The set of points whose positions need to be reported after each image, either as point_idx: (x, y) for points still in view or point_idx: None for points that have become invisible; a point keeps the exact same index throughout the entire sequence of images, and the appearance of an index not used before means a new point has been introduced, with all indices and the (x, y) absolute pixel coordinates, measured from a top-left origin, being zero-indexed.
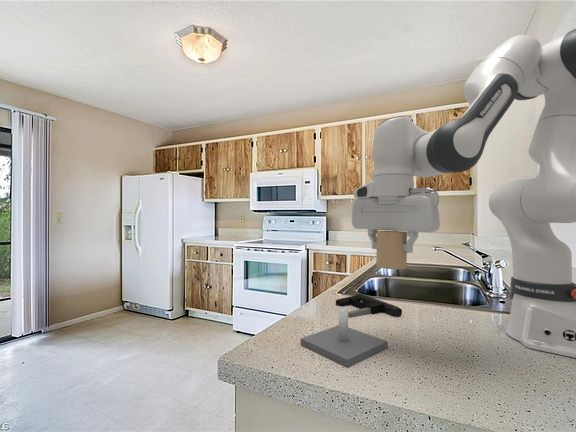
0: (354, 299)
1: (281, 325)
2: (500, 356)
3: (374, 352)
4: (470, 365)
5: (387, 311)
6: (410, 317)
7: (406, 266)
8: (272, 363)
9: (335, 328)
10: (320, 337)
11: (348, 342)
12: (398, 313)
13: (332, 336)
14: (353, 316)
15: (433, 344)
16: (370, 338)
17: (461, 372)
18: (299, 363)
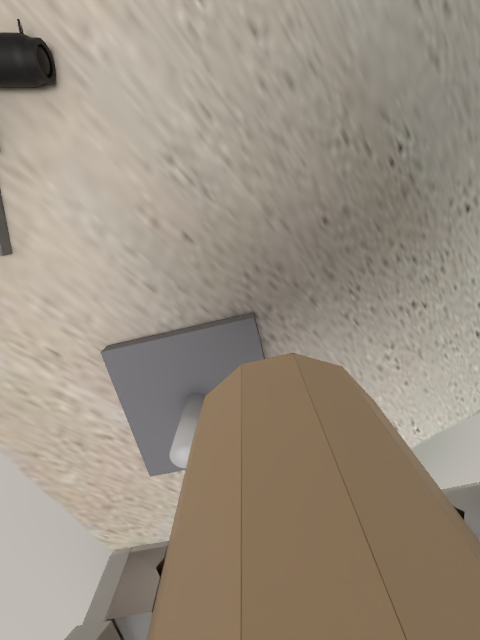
0: None
1: (22, 453)
2: (447, 71)
3: None
4: (421, 208)
5: (7, 86)
6: (76, 26)
7: (379, 408)
8: None
9: (122, 380)
10: (162, 439)
11: None
12: (47, 66)
13: (168, 414)
14: (8, 238)
15: (296, 181)
16: (220, 343)
17: (425, 260)
18: None
